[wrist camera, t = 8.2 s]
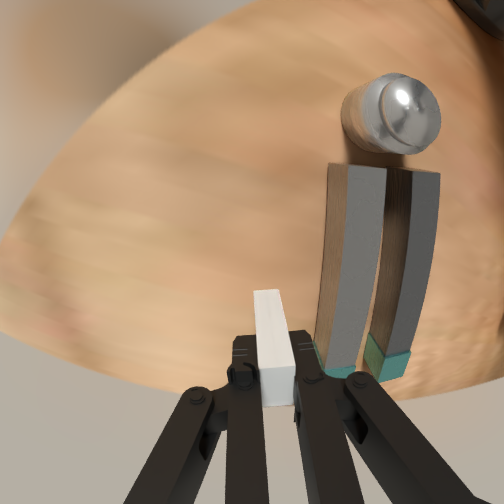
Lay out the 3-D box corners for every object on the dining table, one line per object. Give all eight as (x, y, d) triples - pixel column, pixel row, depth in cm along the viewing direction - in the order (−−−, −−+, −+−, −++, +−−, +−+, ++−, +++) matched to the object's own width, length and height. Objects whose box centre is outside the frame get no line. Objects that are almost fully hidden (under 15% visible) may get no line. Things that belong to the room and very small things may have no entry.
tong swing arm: (325, 85, 15) (355, 64, 10) (395, 97, 16) (438, 87, 11) (309, 365, 23) (321, 409, 18) (364, 358, 24) (384, 397, 19)
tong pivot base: (337, 82, 16) (363, 66, 11) (409, 93, 16) (443, 85, 12) (330, 362, 24) (343, 396, 20) (386, 351, 24) (405, 380, 20)
